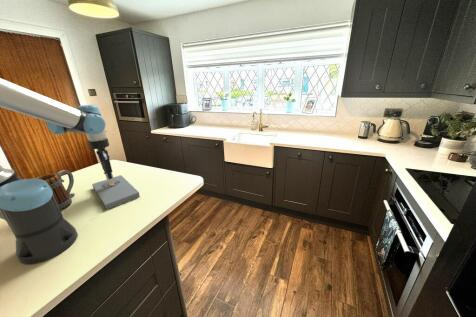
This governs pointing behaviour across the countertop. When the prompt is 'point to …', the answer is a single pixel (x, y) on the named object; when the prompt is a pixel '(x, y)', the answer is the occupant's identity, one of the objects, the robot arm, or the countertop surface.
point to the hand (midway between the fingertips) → (111, 183)
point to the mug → (60, 188)
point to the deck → (115, 192)
